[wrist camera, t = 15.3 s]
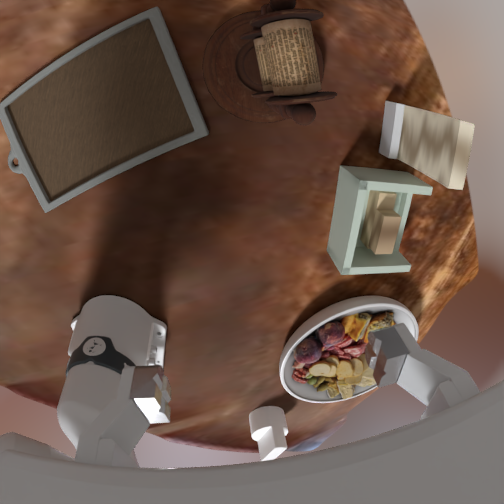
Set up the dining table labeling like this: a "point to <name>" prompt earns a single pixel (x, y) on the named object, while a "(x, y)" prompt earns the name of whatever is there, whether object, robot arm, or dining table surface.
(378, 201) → the offcut long
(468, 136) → the beige streaked board
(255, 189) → the dining table surface
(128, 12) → the dining table surface
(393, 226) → the offcut short
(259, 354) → the dining table surface
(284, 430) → the base with upright slab
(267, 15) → the scroll
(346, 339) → the bowl
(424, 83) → the dining table surface
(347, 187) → the box
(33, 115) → the framed board
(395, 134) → the holder
